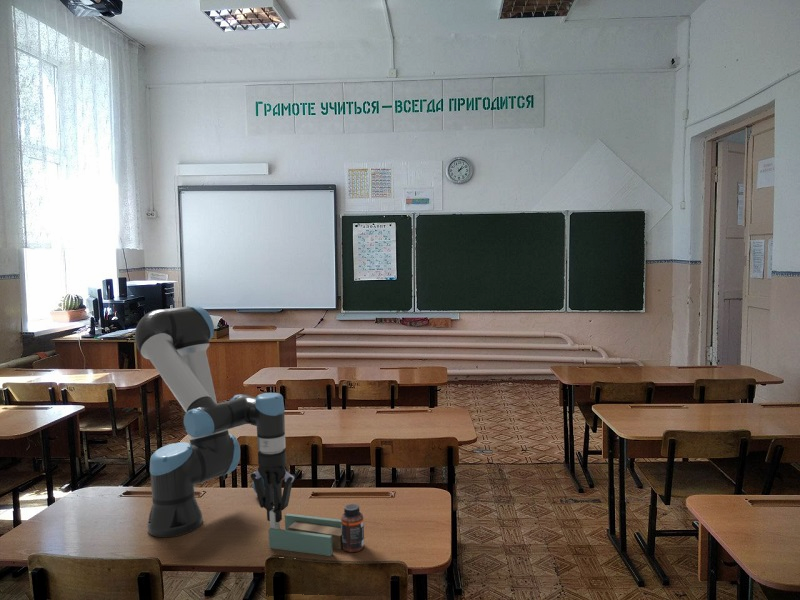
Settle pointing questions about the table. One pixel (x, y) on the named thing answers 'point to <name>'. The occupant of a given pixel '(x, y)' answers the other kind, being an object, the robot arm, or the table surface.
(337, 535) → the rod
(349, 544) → the supplement bottle
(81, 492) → the table surface
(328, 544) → the channel
